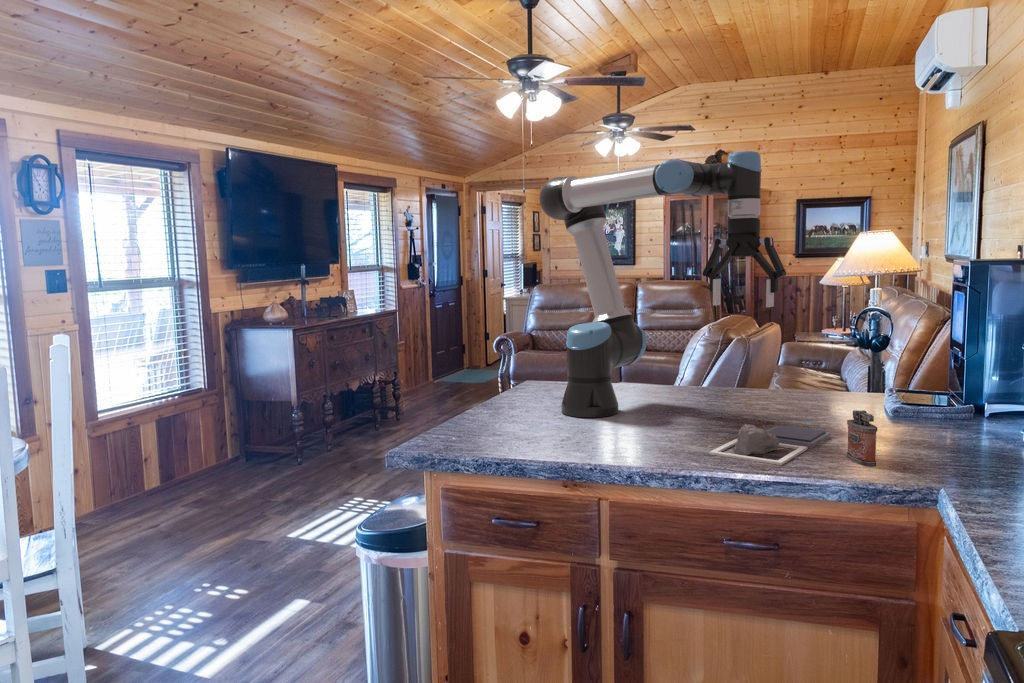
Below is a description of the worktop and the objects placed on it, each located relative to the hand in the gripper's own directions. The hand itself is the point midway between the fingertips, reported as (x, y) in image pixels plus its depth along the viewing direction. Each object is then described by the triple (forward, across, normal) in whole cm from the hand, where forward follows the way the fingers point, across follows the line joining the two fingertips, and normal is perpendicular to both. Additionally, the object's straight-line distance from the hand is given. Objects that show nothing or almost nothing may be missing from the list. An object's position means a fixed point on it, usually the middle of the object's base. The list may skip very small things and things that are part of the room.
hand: (742, 306), depth 186 cm
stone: (+28, +15, -27) cm, 42 cm away
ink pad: (+28, +18, -12) cm, 35 cm away
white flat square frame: (+28, +16, -26) cm, 42 cm away
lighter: (+28, +35, -22) cm, 50 cm away
